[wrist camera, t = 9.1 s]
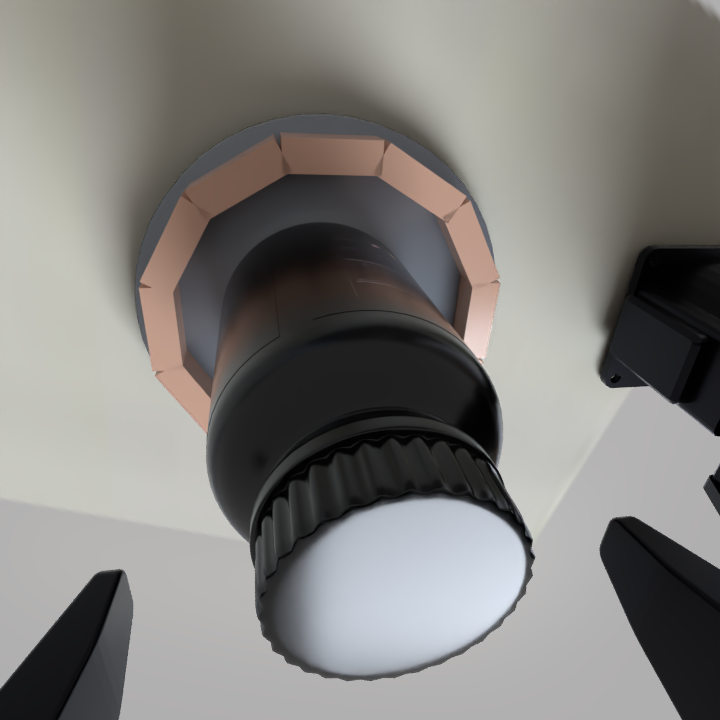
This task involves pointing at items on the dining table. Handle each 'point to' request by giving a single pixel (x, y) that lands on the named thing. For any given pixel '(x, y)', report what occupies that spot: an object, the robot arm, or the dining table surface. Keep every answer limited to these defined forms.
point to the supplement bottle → (359, 460)
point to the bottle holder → (299, 206)
